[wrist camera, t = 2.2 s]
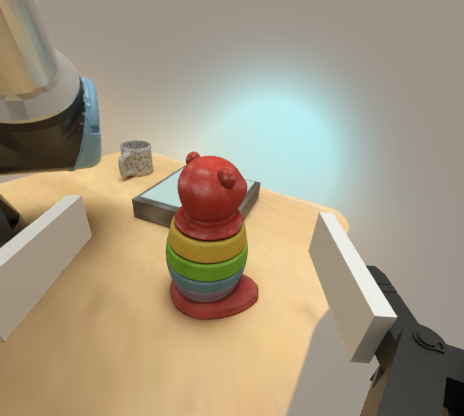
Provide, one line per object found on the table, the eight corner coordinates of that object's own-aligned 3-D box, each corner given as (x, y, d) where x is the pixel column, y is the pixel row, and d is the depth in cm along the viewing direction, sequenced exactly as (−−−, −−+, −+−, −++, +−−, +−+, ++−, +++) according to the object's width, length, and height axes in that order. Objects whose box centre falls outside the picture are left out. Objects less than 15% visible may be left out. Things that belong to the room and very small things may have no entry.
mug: (134, 164, 66) (130, 139, 63) (157, 168, 65) (155, 142, 62) (109, 179, 58) (104, 151, 54) (136, 184, 57) (132, 156, 53)
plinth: (134, 216, 46) (131, 197, 44) (185, 179, 60) (185, 163, 58) (227, 245, 41) (229, 225, 39) (258, 197, 56) (260, 180, 53)
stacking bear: (265, 297, 33) (292, 167, 24) (197, 342, 27) (198, 194, 18) (215, 250, 40) (222, 136, 31) (154, 278, 34) (138, 148, 25)
